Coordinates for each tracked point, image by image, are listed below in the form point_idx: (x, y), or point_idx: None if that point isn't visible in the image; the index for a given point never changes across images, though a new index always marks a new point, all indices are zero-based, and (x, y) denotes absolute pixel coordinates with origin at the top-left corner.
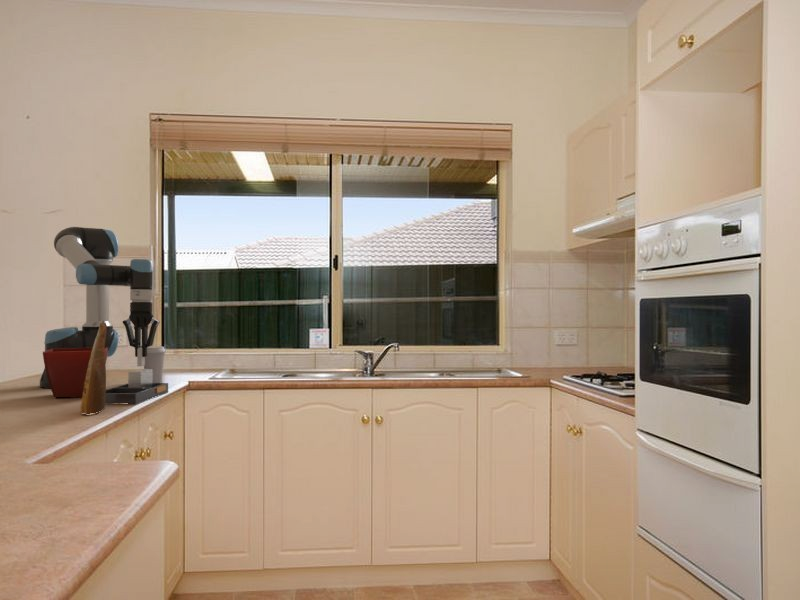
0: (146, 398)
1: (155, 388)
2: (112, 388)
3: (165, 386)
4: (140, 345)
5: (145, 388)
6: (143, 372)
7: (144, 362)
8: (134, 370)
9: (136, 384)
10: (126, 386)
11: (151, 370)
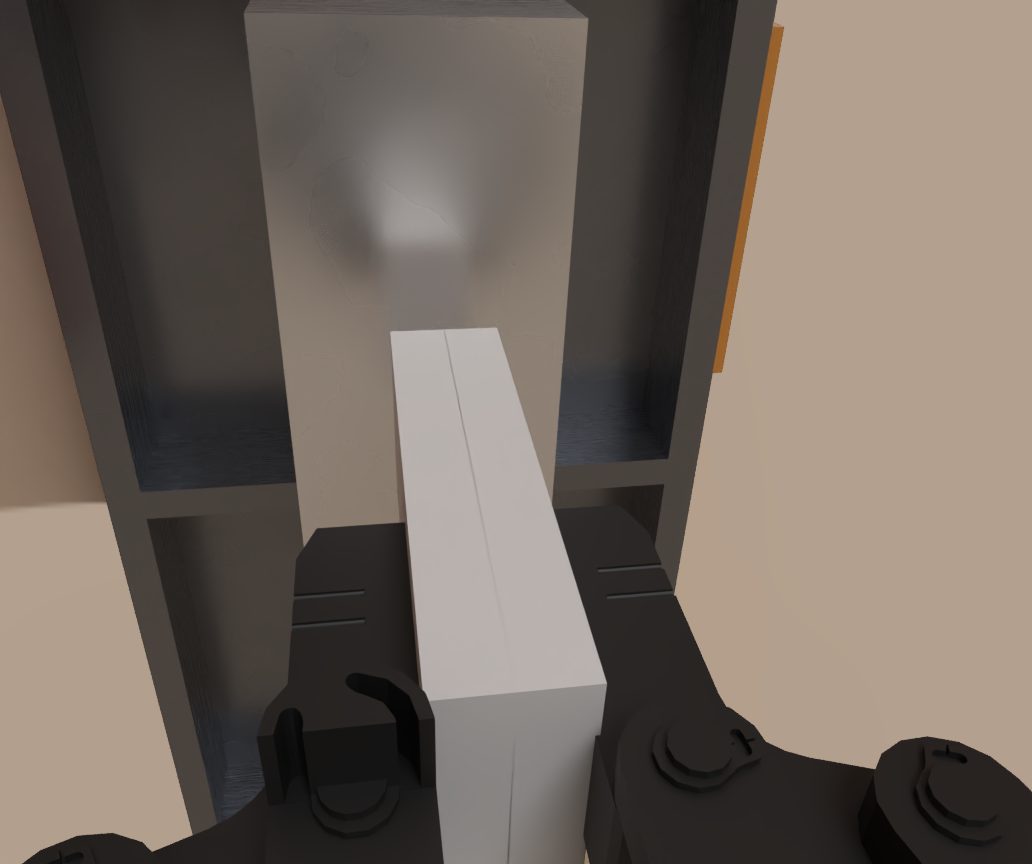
0: None
1: (702, 389)
2: (154, 549)
3: (770, 44)
4: (438, 826)
5: (600, 484)
6: (548, 473)
7: (508, 374)
8: (293, 381)
9: None
10: (59, 88)
11: (574, 82)
